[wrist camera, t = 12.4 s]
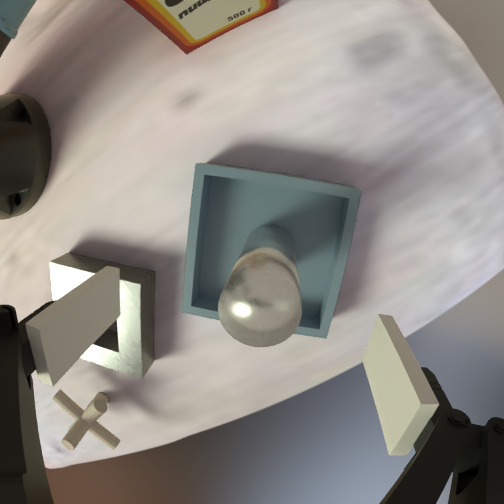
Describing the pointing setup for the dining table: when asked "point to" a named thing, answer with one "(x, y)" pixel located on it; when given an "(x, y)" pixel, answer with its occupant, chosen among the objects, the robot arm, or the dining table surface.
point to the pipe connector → (85, 420)
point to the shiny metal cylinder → (263, 290)
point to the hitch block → (131, 307)
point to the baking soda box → (199, 17)
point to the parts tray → (268, 213)
